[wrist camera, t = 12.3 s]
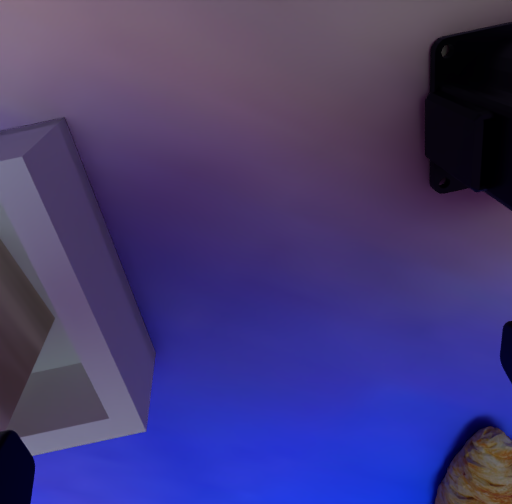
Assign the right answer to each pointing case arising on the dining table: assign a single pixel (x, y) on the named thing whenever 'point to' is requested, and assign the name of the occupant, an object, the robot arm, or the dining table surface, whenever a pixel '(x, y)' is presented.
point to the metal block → (18, 332)
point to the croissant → (480, 471)
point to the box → (71, 298)
